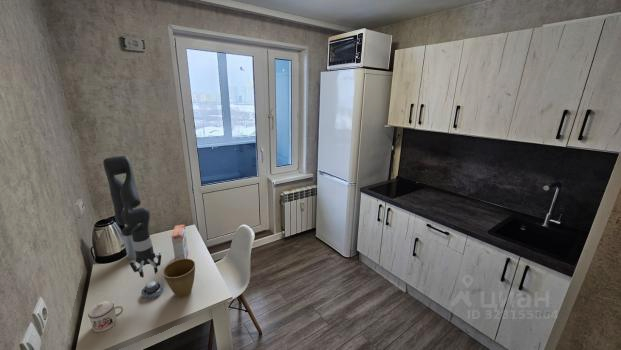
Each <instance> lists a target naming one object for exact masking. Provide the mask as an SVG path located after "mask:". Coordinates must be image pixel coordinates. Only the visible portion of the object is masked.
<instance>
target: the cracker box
mask: <svg viewBox="0 0 621 350" xmlns="http://www.w3.org/2000/svg"><path fill="white" fill-rule="evenodd" d="M171 242H172V248H173V254H174V261H176V260H179V259H188V255H189V247H188V237H187V232H186V225H185V224H178V225H174V229H173V231H172V234H171Z"/></svg>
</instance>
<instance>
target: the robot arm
mask: <svg viewBox="0 0 621 350" xmlns="http://www.w3.org/2000/svg"><path fill="white" fill-rule="evenodd" d="M103 169H104V172H105V175H106V178H107V181H108V185H109V193H110V196H111V201H112V204H113V205H112V206H113V209H114V219H115V221H116V224H117V225H119V226H123V225H124V226H125V225H126V226H125V227H124V228H122V230H121V235H122V239H123V243H124V248H125V250H126V256H127V259H128V260H129V265H130V267H131V269H132V272H134V273H137V272H138V273H139V277H140V278H142V279H143V278H144V277H145V275H144V274H145V273H144V270H143V267H144V266H146V265H151V266H152V267H153V272H154V274H155V275H156V274H157V273H158V272H159V270H158V267H160V266H161V263H162V253H161V252H159V253H157V254H156V253H155V252H154V246H153V241H152V239H151V235H150V232H149V231H150V230H149V229H150V228H149V225H150V223H149V222H150V217H151V213H150V210H149V209H148V208H147V207H140V208H138V207H139V206H140V205H141V203H142V202H141V198H140V194H139V193H138V189H137V187H136V180H135V175H134V171H133V167H132V164H131V160H130V159H129V157H128V156H127V155H120V156H111V157H107V158H104V159H103ZM123 174H124V175H125V179H124V181H123V180H121V179H120V178H118V177H117V176H118V175H123ZM155 259H157V262H156V261H155ZM136 263H137V264H139V266H138V267H137V265H136Z"/></svg>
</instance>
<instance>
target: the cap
mask: <svg viewBox="0 0 621 350" xmlns="http://www.w3.org/2000/svg"><path fill="white" fill-rule="evenodd" d="M158 282H159V281H155V280H154V281H153V280H152V281H150V282H148V283H146V285H145V286H144V287H145V288H146V294H151V293H154V292H156V291H157V290H158V289H159V287H158Z"/></svg>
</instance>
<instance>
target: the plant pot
mask: <svg viewBox="0 0 621 350" xmlns="http://www.w3.org/2000/svg"><path fill="white" fill-rule="evenodd" d="M195 272H196V263H195V261H194V260H193V259H190V258H187V259H179V260H176V261H175V260H174V261H172V262H170V263H168V264H167V265H165V267H164V268H163V270H162V275H163V277H164V280H165V281H166V283H167V286H168V287H169V289H170V290H171V291H172V293H173V295H175V297H176V298H180V299H181V298H185V297H188V296H190V294H191V292H192V289H193V287H194V286H193V285H194V281H195V275H196V273H195Z"/></svg>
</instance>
